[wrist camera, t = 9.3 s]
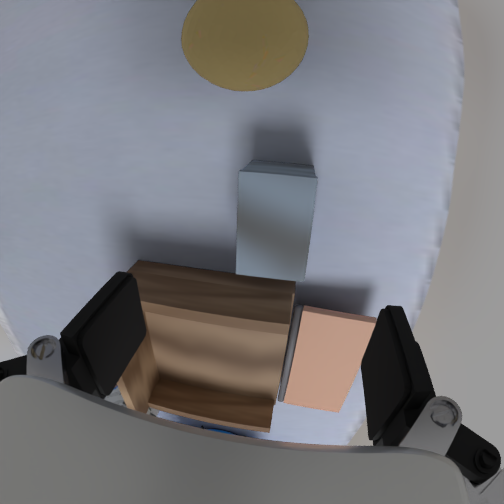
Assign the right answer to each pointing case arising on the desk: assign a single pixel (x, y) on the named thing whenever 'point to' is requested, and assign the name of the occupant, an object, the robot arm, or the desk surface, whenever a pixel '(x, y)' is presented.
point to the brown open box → (209, 345)
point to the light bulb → (245, 41)
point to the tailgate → (323, 357)
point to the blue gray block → (275, 219)
